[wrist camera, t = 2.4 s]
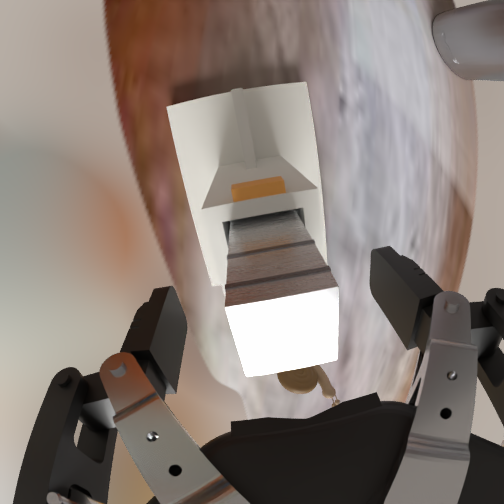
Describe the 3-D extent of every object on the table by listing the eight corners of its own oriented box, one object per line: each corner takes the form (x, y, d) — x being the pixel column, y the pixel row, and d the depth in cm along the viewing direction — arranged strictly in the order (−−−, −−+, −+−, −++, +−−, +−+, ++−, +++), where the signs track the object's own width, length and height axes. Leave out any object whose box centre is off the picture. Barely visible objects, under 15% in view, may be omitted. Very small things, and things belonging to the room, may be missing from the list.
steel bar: (232, 178, 23) (223, 306, 8) (271, 171, 23) (340, 284, 7) (240, 214, 24) (245, 377, 9) (277, 207, 24) (338, 360, 9)
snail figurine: (307, 344, 36) (326, 418, 25) (261, 338, 35) (270, 417, 24) (323, 314, 34) (351, 390, 23) (275, 306, 33) (290, 388, 22)
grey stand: (171, 107, 22) (104, 99, 10) (301, 84, 22) (366, 53, 9) (213, 276, 30) (201, 379, 18) (322, 256, 30) (370, 349, 17)
